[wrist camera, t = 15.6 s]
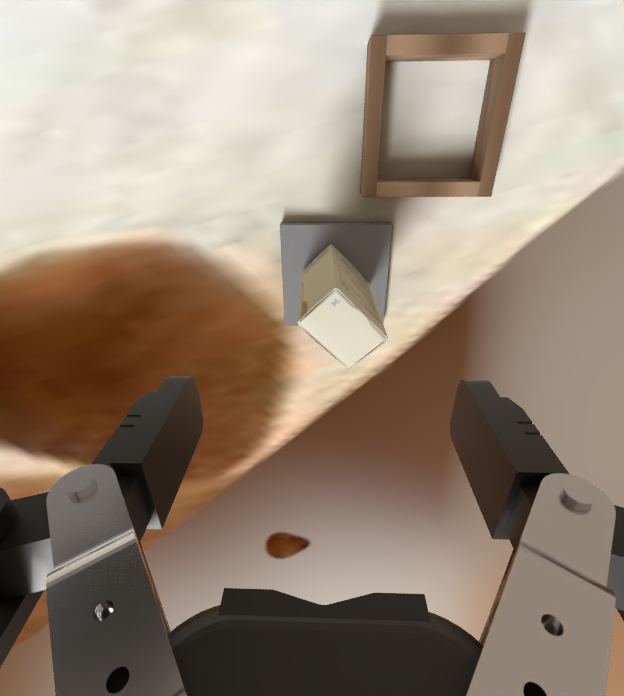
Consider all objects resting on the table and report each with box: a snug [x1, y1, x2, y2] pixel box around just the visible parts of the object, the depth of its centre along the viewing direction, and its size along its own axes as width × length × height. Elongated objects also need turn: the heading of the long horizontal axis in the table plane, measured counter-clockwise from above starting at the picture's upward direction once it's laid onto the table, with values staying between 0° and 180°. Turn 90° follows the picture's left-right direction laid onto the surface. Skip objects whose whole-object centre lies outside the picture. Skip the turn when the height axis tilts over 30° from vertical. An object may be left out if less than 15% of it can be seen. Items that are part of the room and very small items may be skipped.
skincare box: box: [298, 244, 388, 369], centre depth 34 cm, size 6×4×12 cm
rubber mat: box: [280, 222, 392, 326], centre depth 40 cm, size 11×11×1 cm
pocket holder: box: [360, 33, 525, 197], centre depth 32 cm, size 11×11×3 cm
